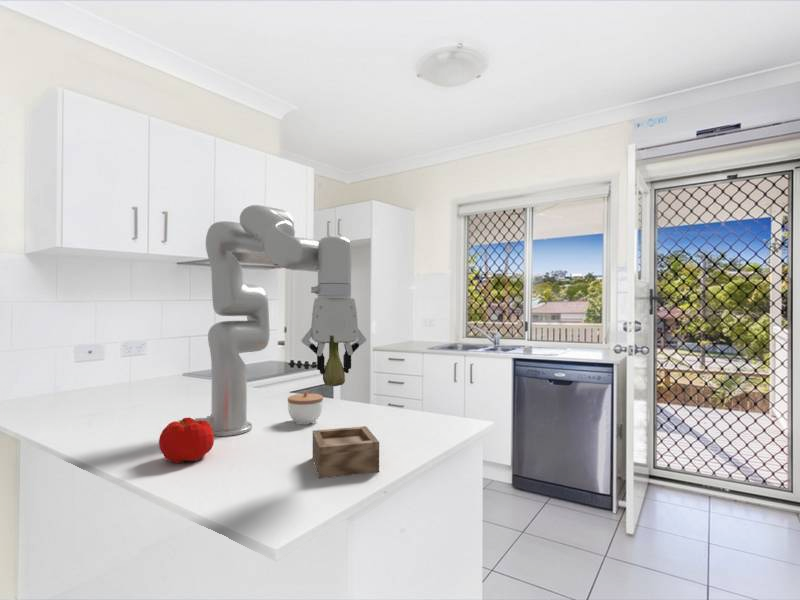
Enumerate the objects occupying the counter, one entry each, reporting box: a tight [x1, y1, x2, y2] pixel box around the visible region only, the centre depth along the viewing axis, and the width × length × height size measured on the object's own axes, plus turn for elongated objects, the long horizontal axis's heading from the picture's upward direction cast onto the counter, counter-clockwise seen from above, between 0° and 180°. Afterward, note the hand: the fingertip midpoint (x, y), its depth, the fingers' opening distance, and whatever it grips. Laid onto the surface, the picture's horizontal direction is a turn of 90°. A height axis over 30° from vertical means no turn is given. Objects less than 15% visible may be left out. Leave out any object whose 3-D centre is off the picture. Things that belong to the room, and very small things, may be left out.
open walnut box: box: [312, 425, 380, 479], centre depth 102 cm, size 13×13×6 cm
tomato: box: [158, 416, 215, 464], centre depth 106 cm, size 11×12×9 cm
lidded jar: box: [287, 390, 324, 425], centre depth 139 cm, size 11×11×9 cm
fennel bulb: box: [322, 335, 346, 387], centre depth 101 cm, size 6×5×12 cm
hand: (334, 371), depth 101 cm, fingers closed on fennel bulb, 4 cm apart
